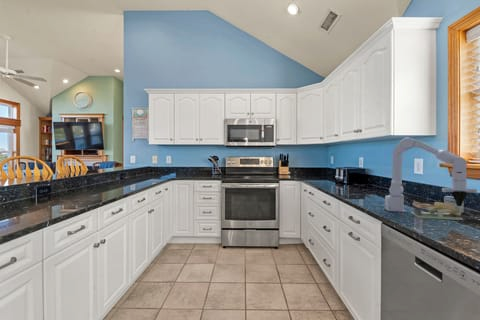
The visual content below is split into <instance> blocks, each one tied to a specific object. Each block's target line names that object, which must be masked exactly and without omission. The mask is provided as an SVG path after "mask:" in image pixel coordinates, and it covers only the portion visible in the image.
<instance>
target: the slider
mask: <svg viewBox="0 0 480 320" xmlns="http://www.w3.org/2000/svg"><path fill="white" fill-rule="evenodd" d="M433 205H434V207H439V208H444V209H450V210H452V206H451V205H449V204H445V203H444V202H438V201H434V203H433Z"/></svg>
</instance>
